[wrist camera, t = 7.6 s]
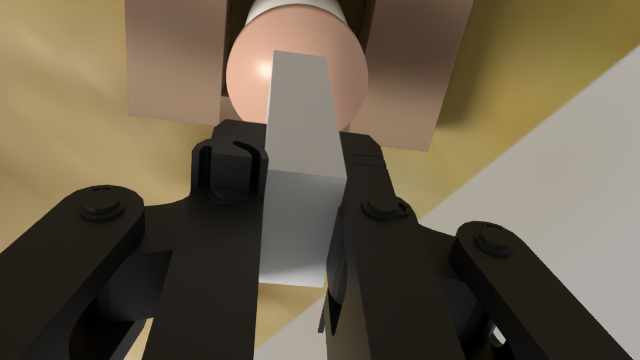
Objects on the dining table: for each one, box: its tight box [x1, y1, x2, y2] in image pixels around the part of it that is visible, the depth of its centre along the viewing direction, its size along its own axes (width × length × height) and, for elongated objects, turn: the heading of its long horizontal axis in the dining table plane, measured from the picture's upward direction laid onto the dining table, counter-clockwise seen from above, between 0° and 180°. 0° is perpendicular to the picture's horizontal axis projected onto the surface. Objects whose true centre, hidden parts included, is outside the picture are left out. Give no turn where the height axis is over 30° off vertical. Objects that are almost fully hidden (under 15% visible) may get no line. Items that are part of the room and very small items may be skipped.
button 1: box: [226, 0, 368, 131], centre depth 20 cm, size 5×5×7 cm
